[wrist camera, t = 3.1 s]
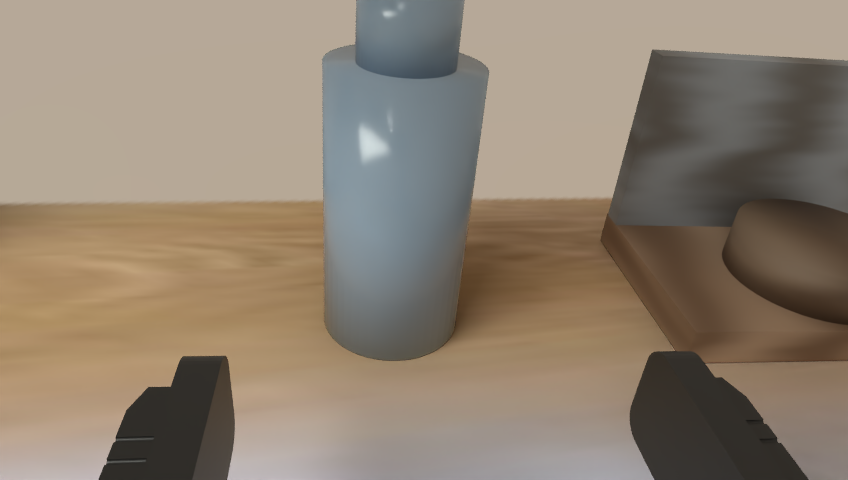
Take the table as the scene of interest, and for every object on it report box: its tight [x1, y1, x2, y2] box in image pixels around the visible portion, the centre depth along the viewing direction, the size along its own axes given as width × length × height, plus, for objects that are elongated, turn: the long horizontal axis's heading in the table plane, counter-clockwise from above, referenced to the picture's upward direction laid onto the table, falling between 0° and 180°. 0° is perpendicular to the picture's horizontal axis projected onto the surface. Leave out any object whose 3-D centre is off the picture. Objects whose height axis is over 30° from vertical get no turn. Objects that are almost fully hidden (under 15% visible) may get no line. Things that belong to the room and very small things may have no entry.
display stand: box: [601, 50, 848, 363], centre depth 26 cm, size 14×9×10 cm, turn 96°
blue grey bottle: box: [322, 0, 489, 361], centre depth 21 cm, size 5×5×12 cm
